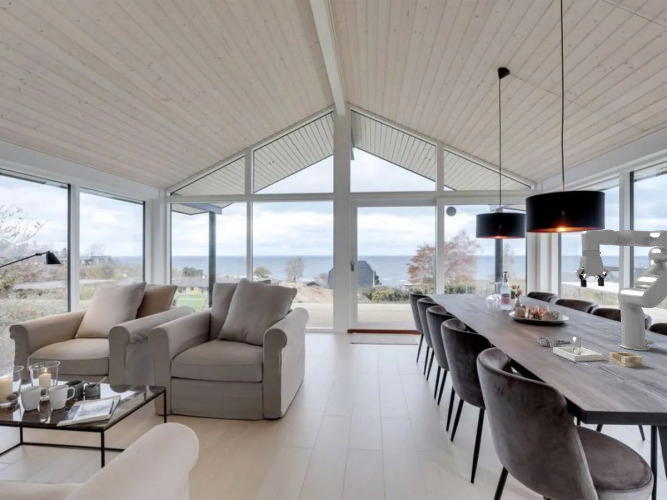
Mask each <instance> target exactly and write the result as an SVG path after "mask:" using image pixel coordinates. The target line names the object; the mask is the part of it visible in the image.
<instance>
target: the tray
mask: <svg viewBox="0 0 667 500" xmlns="http://www.w3.org/2000/svg"><path fill="white" fill-rule="evenodd" d="M552 352H553V353H552V354H553V355H554V356H556V357H559V358H561V359H562V360H566V361H568V362H571V363H573V364H577V362H588V361H590V362H591V361H604V353H600V352H597V351H594V350H591V349H588V348H585V347H583V346H581V355H574V349H573V346H563V347H553V348H552Z"/></svg>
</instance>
